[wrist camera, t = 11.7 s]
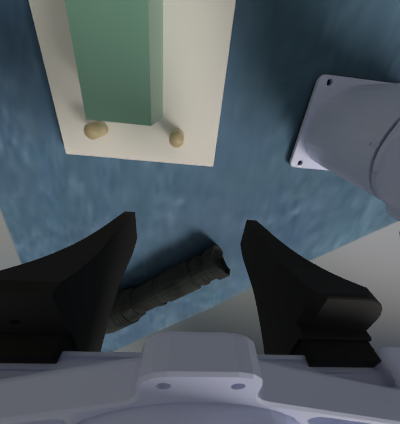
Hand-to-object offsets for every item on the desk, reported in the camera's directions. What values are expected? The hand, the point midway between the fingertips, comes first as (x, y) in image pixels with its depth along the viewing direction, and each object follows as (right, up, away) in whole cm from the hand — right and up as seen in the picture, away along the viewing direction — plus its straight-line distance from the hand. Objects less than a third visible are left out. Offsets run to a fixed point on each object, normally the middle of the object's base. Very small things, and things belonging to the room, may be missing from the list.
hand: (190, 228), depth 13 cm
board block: (-4, +13, +2) cm, 14 cm away
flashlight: (-5, -9, +17) cm, 20 cm away
